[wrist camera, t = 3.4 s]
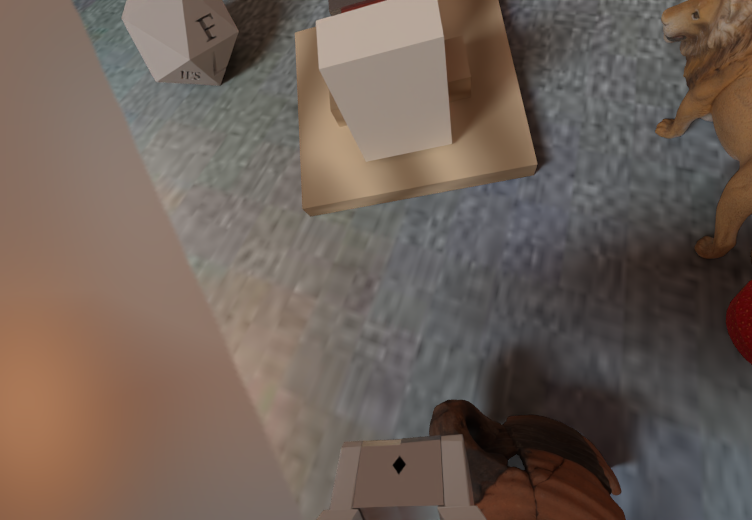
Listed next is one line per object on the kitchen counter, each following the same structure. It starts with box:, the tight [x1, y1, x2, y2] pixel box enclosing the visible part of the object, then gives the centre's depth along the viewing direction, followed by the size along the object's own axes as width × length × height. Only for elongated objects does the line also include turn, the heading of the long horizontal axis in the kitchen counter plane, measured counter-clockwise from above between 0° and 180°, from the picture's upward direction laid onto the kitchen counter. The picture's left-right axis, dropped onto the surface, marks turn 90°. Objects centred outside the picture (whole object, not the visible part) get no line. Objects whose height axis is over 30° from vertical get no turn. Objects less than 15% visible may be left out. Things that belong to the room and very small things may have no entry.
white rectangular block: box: [316, 0, 452, 162], centre depth 23 cm, size 6×3×9 cm, turn 96°
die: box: [122, 0, 239, 86], centre depth 32 cm, size 8×9×10 cm
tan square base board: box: [295, 0, 537, 216], centre depth 28 cm, size 16×16×4 cm
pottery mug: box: [429, 400, 626, 520], centre depth 19 cm, size 12×10×8 cm
